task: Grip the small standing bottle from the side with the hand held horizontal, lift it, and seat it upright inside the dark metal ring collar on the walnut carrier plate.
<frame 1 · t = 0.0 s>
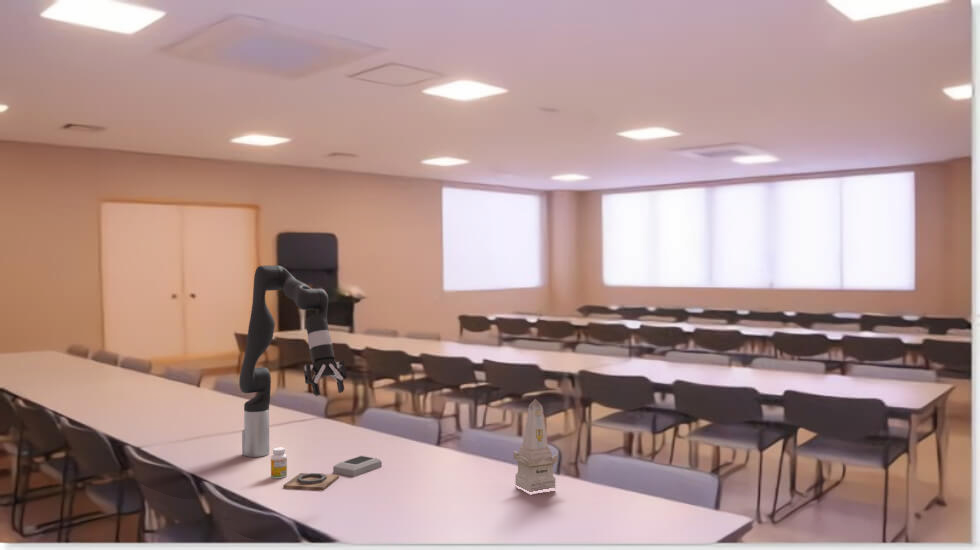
hand: (329, 393, 248), 31 cm above the table, fingers open, 8 cm apart
grey flat boxy piece: (357, 471, 272), on the table
miniature monument: (535, 489, 250), on the table
carrier plate: (311, 482, 256), on the table
supplement bottle: (279, 477, 263), on the table
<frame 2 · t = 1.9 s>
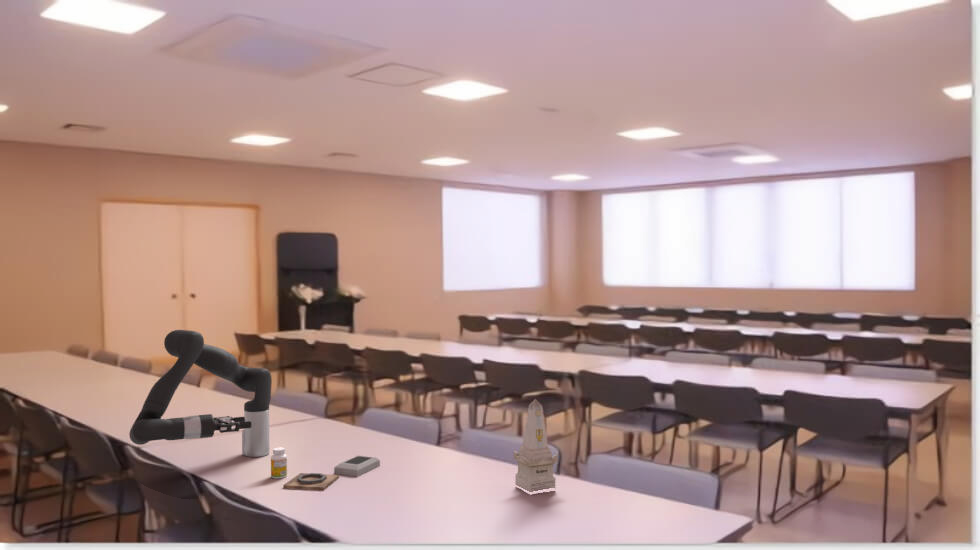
hand: (247, 422, 257), 20 cm above the table, fingers open, 8 cm apart
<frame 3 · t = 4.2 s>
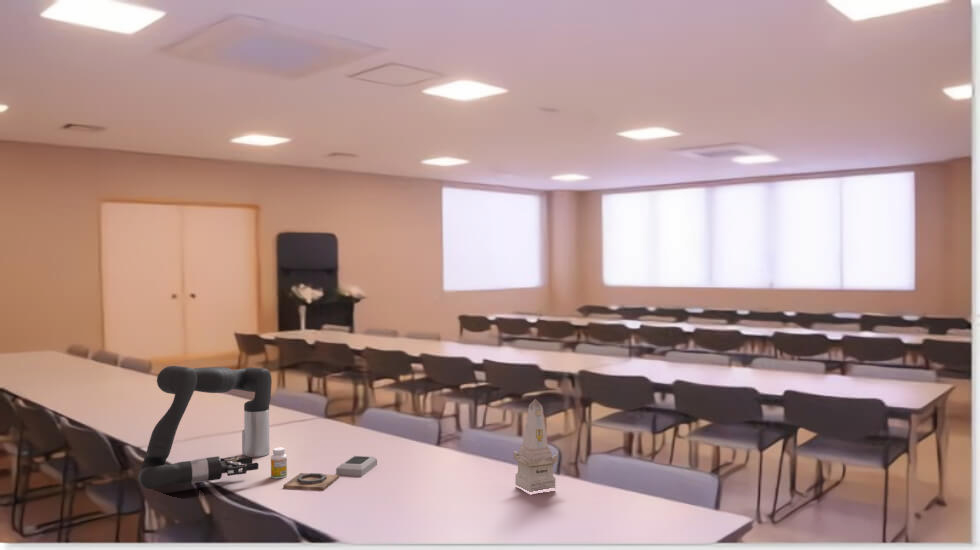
hand: (255, 462, 259), 6 cm above the table, fingers open, 8 cm apart
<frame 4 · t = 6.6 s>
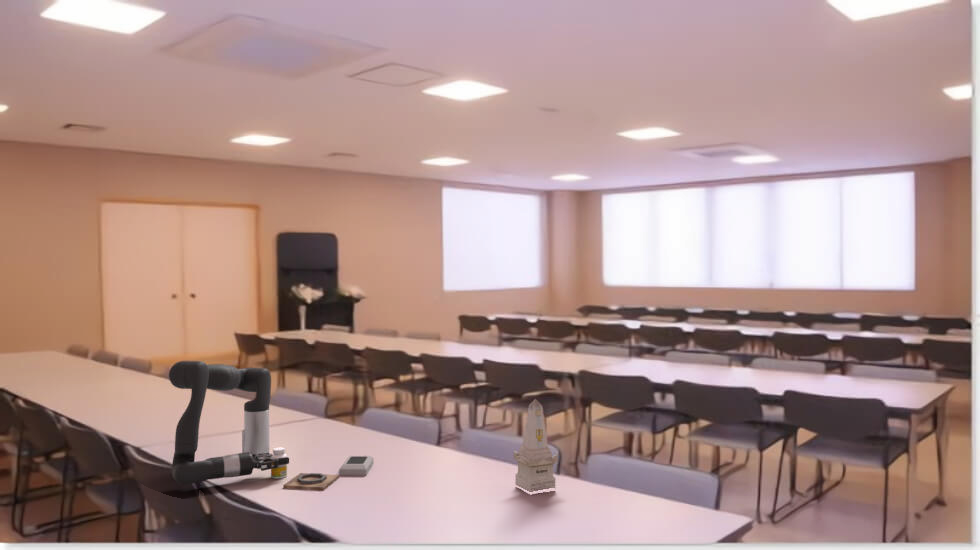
hand: (286, 458, 264), 6 cm above the table, fingers closed on supplement bottle, 5 cm apart
supplement bottle: (279, 477, 263), on the table, touching gripper
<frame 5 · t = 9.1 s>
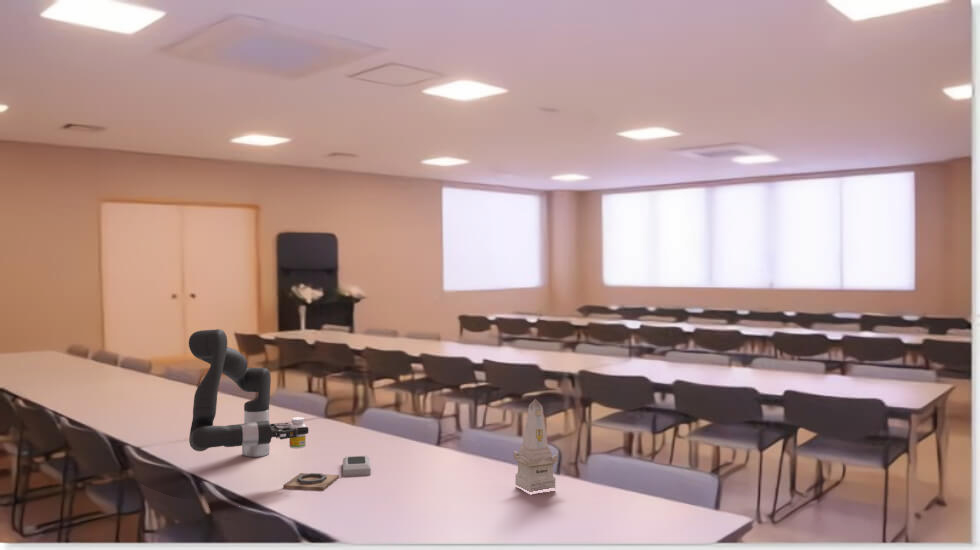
hand: (305, 428, 258), 18 cm above the table, fingers closed on supplement bottle, 5 cm apart
supplement bottle: (297, 447, 257), point 12 cm above the table, touching gripper
when the fingers open (8 cm above the table, at t = 11.9 s): supplement bottle stays where it is, resting on carrier plate.
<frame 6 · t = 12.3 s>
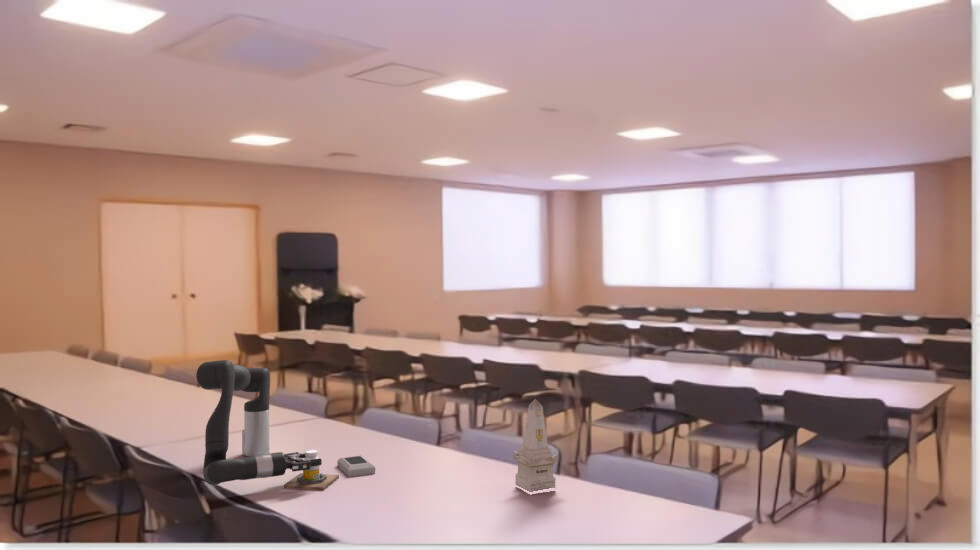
hand: (317, 458, 256), 8 cm above the table, fingers open, 8 cm apart
supplement bottle: (311, 480, 256), point 1 cm above the table, touching carrier plate
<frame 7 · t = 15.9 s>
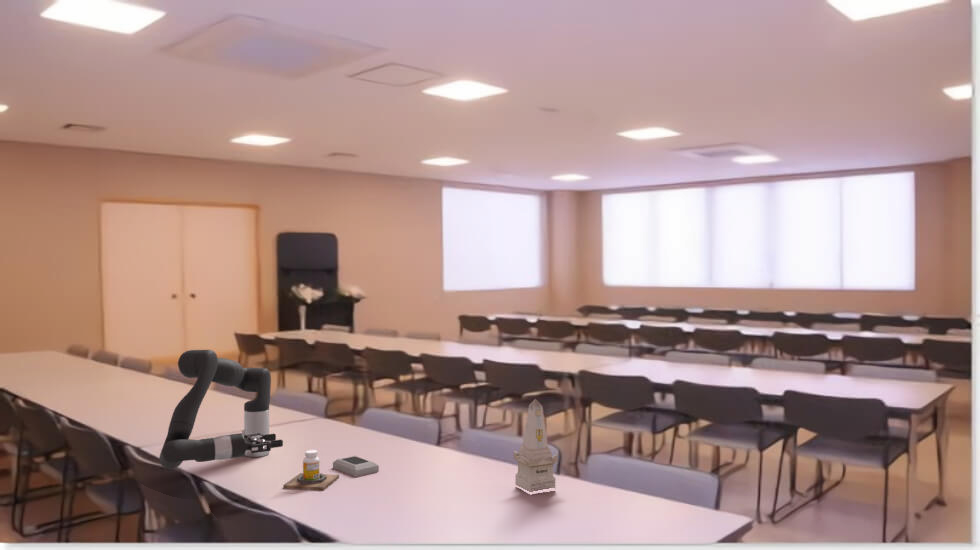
hand: (279, 439, 250), 16 cm above the table, fingers open, 8 cm apart
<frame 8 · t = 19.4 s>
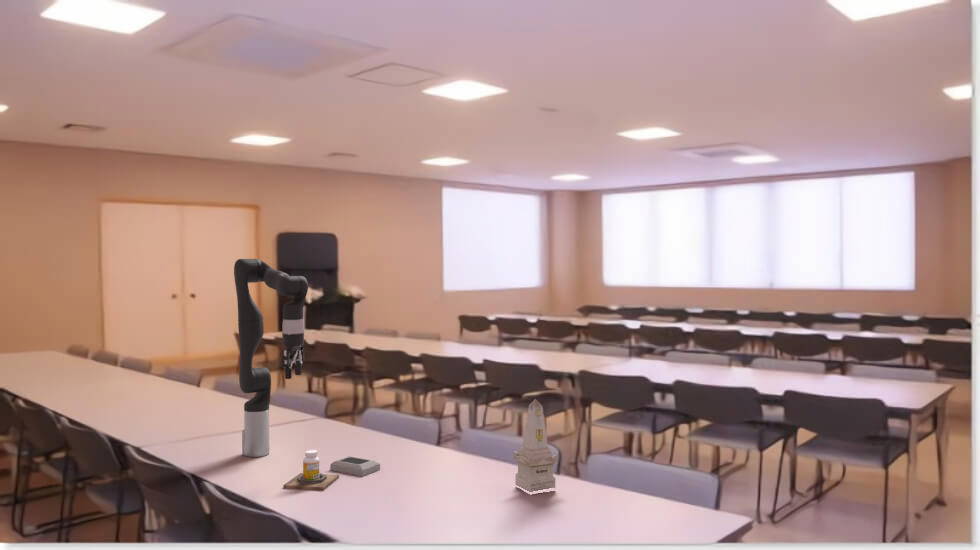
hand: (293, 376, 272), 33 cm above the table, fingers open, 8 cm apart
at the end: supplement bottle 0.1 cm off-centre on the carrier plate, point 0.8 cm above the carrier plate's base; supplement bottle tilted 0°; the gripper is holding nothing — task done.
